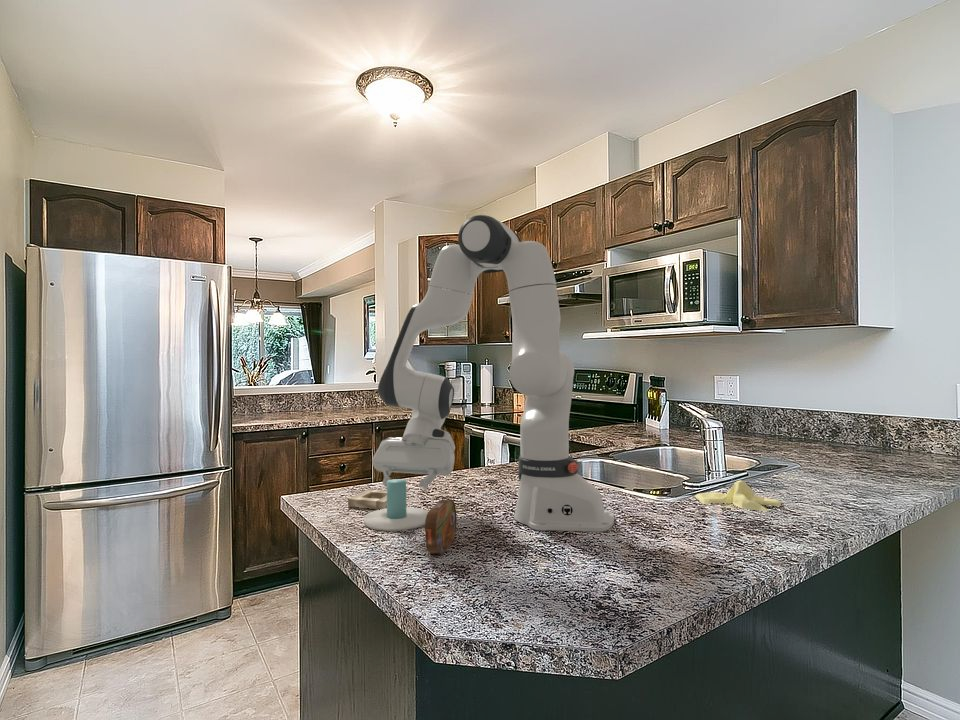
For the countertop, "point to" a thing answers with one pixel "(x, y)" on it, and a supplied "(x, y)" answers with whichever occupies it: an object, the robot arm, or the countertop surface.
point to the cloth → (739, 498)
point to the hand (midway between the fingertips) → (404, 486)
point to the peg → (396, 499)
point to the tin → (440, 526)
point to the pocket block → (369, 500)
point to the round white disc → (395, 520)
